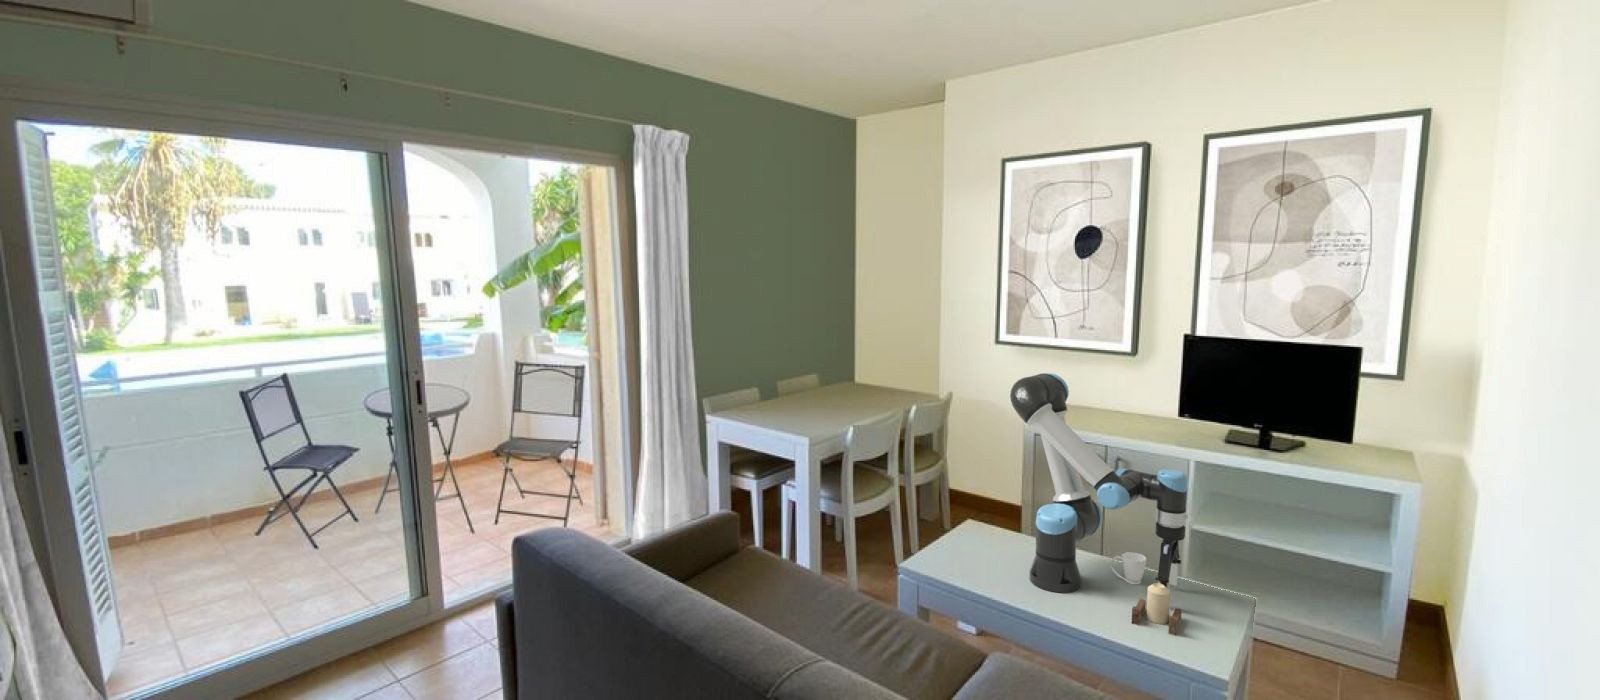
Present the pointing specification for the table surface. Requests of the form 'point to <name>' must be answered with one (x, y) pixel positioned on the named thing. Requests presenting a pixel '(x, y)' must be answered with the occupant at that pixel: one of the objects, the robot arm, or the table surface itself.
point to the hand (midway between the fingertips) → (1167, 593)
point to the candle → (1158, 603)
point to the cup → (1132, 567)
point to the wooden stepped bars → (1173, 620)
